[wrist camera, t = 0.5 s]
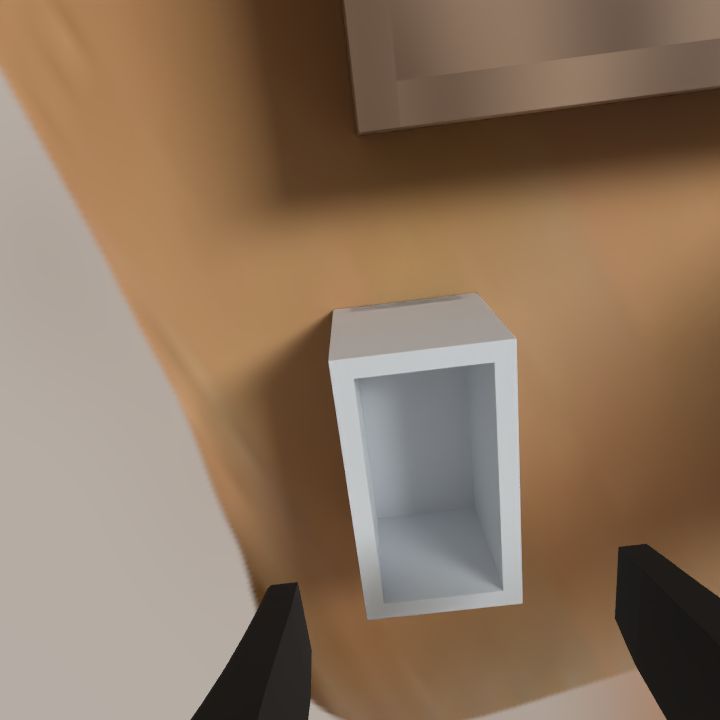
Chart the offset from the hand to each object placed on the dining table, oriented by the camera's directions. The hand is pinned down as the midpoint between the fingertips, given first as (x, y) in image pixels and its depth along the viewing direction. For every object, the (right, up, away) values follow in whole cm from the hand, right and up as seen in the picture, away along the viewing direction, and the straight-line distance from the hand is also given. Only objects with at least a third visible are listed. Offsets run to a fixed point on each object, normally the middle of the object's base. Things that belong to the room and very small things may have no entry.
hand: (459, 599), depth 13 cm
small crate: (0, +3, +9) cm, 9 cm away
